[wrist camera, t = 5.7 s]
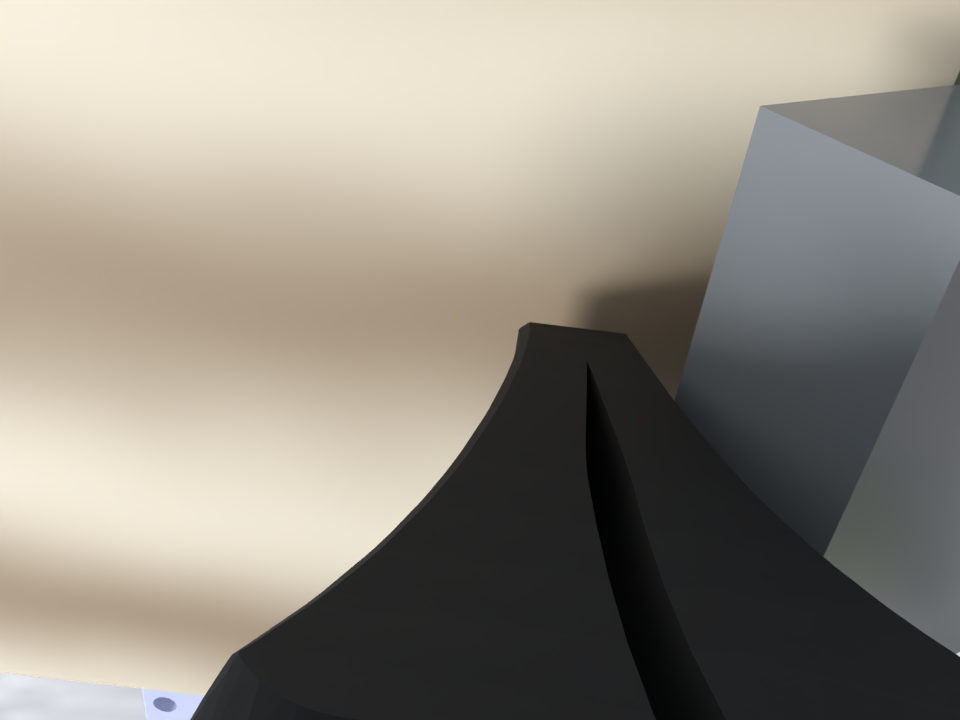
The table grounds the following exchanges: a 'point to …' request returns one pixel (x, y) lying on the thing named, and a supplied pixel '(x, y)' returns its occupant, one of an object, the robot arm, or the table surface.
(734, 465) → the tile
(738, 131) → the board
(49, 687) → the table surface
